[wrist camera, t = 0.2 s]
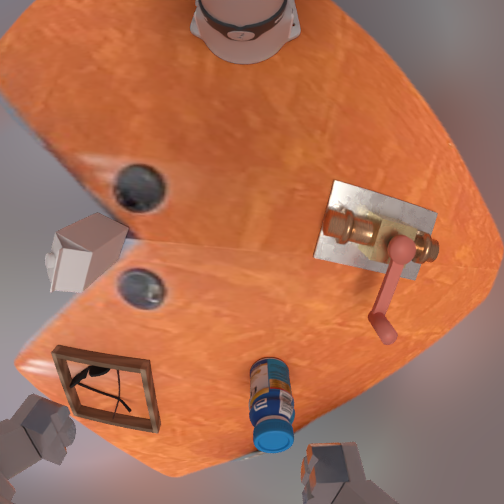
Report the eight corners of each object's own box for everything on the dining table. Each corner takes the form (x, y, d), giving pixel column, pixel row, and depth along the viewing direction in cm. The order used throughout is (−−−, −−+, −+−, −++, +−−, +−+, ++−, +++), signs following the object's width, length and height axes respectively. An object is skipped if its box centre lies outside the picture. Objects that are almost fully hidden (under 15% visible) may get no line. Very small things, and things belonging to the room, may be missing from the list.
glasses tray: (57, 344, 64) (51, 352, 60) (149, 360, 64) (145, 369, 61) (78, 407, 70) (74, 415, 67) (161, 423, 70) (158, 433, 67)
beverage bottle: (290, 383, 66) (300, 453, 46) (252, 387, 66) (252, 458, 47) (287, 353, 63) (298, 424, 44) (246, 358, 63) (244, 430, 44)
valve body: (312, 256, 57) (323, 274, 48) (333, 179, 53) (349, 185, 44) (413, 278, 58) (434, 298, 49) (435, 212, 54) (461, 223, 45)
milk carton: (129, 227, 55) (79, 261, 37) (118, 260, 57) (69, 304, 39) (97, 211, 54) (39, 239, 36) (87, 244, 56) (32, 281, 38)
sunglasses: (106, 412, 71) (100, 425, 66) (70, 373, 67) (62, 385, 62) (150, 398, 68) (145, 412, 63) (112, 354, 64) (104, 367, 59)
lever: (392, 231, 46) (412, 244, 39) (414, 238, 46) (436, 251, 39) (360, 320, 50) (374, 343, 43) (382, 323, 50) (398, 346, 44)
